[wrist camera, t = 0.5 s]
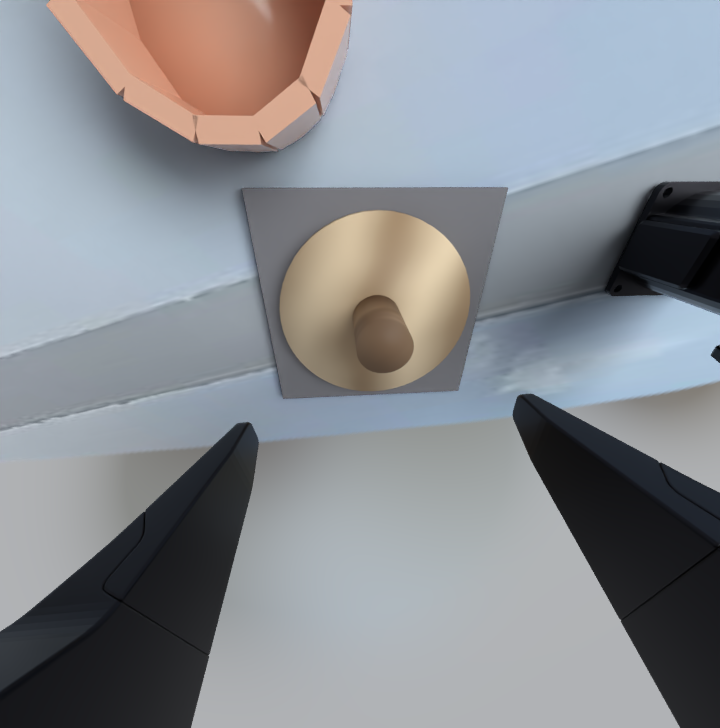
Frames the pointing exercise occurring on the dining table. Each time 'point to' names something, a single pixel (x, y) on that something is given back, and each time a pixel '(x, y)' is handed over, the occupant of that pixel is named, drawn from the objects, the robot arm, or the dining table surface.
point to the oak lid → (374, 300)
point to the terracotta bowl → (218, 63)
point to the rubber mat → (323, 205)
